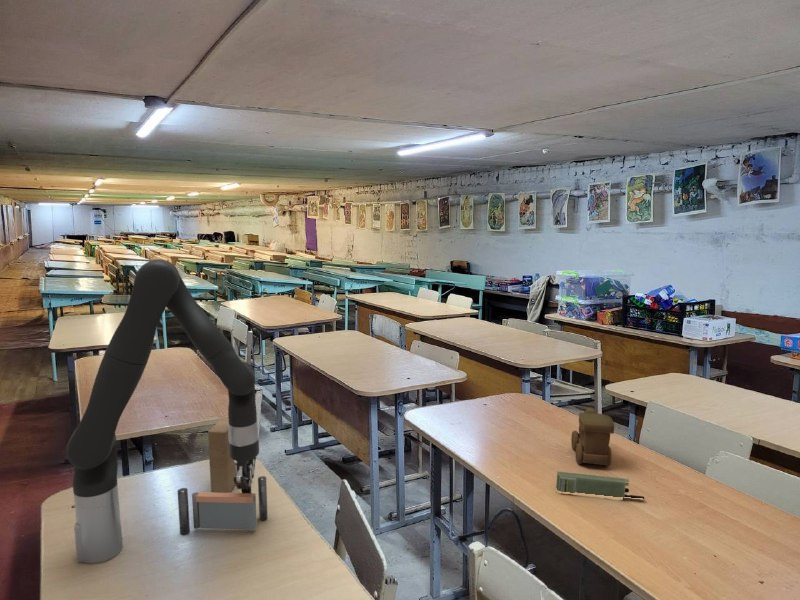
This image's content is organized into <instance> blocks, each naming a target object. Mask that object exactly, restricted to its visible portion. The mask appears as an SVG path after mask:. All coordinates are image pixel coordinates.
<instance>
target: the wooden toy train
mask: <svg viewBox="0 0 800 600" xmlns="http://www.w3.org/2000/svg"><path fill="white" fill-rule="evenodd" d="M578 423H579V424H578V431H577V430H573V431H572V432H571V438H570V440H571V449H572V450H573V451H575V462H576V461H577V462H576V463H577V464H578V463H580V464H579V465H581V464H582V463H583V464H593V465H603V466H605V465H606V466H605V467H607V466H608V467H610V466H611V464H612V456H613V455H612V454H613V453H612V448H611V447H610V442H611V441H610V439H611V434H612V435H613V434H614V433H615V423H614V420H613V419H612V417H611V416H610V415H609V414H603V413H597V411H596V410H595V409H594V408H593V407H587V408H586V409H585V410H584V412H579V413H578Z"/></svg>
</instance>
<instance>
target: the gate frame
mask: <svg viewBox="0 0 800 600" xmlns="http://www.w3.org/2000/svg"><path fill="white" fill-rule="evenodd" d="M267 486H268V485H267V477H266V476H263V475H262V476H258V477H257V489H258V490H257V491H258V492H257V494H258V515H259V516H258V518H259V521H260V522H265V521H267V520H268V491H267V490H268V488H267ZM188 495H189V493H188V488H187V487H181V488H178V489H177V504H178V522H179V523H178V524H179V534H180V535H181V536H187V535H189V534H190V533H191V527H190V526H191V525H190V514H189V513H190V509H189V496H188Z"/></svg>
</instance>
